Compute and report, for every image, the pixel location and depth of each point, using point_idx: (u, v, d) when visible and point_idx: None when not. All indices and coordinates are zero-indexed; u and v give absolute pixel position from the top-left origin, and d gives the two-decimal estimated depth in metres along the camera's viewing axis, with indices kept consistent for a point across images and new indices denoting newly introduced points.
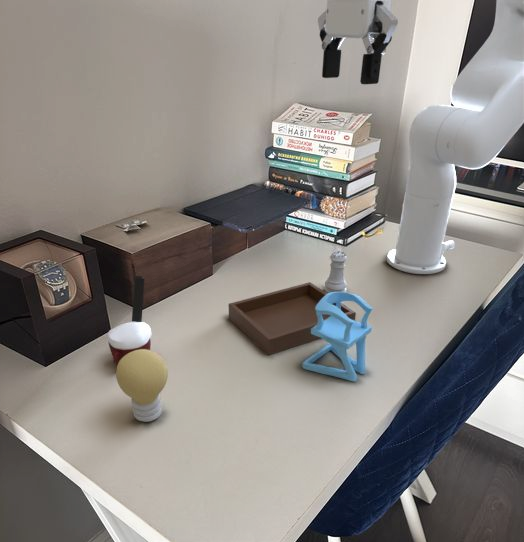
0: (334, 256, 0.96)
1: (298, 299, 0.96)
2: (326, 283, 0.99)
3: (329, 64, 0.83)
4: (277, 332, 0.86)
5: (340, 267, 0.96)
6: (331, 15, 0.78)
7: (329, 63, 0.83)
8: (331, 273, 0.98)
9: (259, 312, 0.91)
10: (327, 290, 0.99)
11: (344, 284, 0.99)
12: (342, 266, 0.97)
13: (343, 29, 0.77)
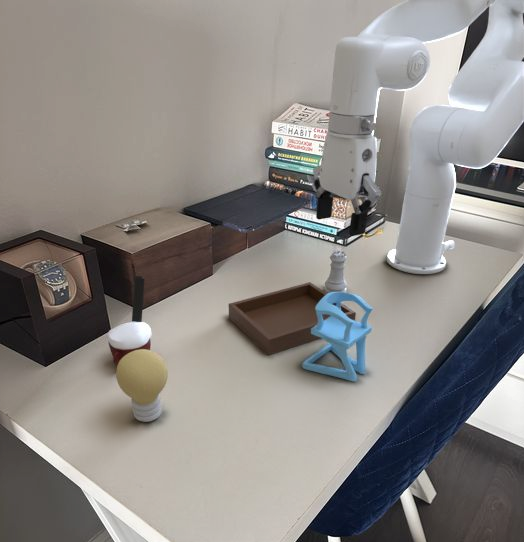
0: (334, 256, 0.96)
1: (298, 299, 0.96)
2: (326, 283, 0.99)
3: (322, 209, 0.95)
4: (277, 332, 0.86)
5: (340, 267, 0.96)
6: (324, 174, 0.89)
7: (322, 208, 0.95)
8: (331, 273, 0.98)
9: (259, 312, 0.91)
10: (327, 290, 0.99)
11: (344, 284, 0.99)
12: (342, 266, 0.97)
13: (334, 189, 0.88)
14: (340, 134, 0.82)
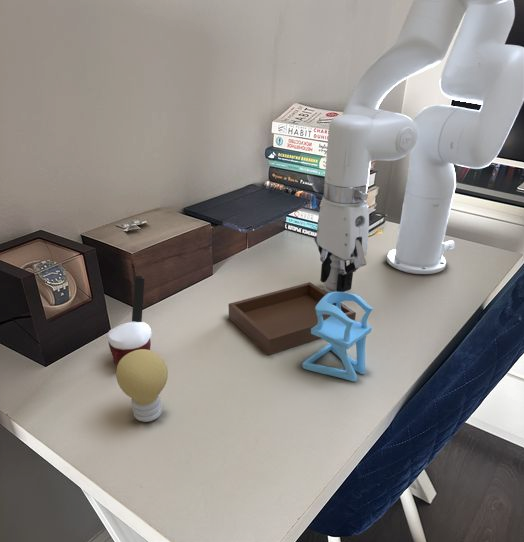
0: (334, 256, 0.96)
1: (298, 299, 0.96)
2: (326, 283, 0.99)
3: (326, 273, 1.00)
4: (277, 332, 0.86)
5: (340, 267, 0.96)
6: (320, 234, 0.96)
7: (326, 272, 1.00)
8: (331, 273, 0.98)
9: (259, 312, 0.91)
10: (327, 290, 0.99)
11: None
12: None
13: (330, 249, 0.94)
14: (335, 203, 0.88)
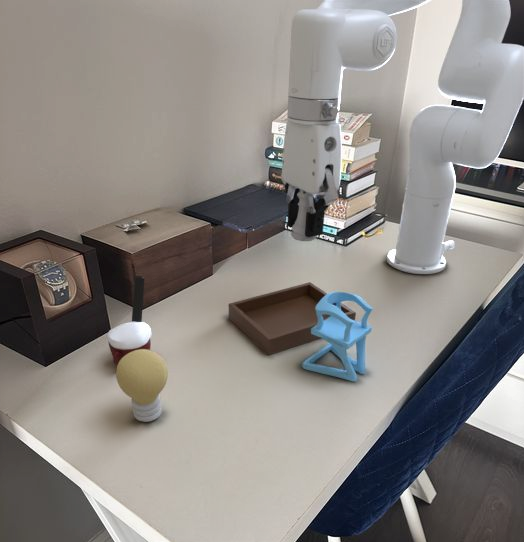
0: (302, 192, 0.80)
1: (298, 299, 0.96)
2: (293, 227, 0.84)
3: (294, 215, 0.85)
4: (277, 332, 0.86)
5: None
6: (286, 166, 0.80)
7: (294, 215, 0.85)
8: (299, 214, 0.83)
9: (259, 312, 0.91)
10: (294, 235, 0.84)
11: None
12: None
13: (297, 182, 0.79)
14: (300, 121, 0.73)
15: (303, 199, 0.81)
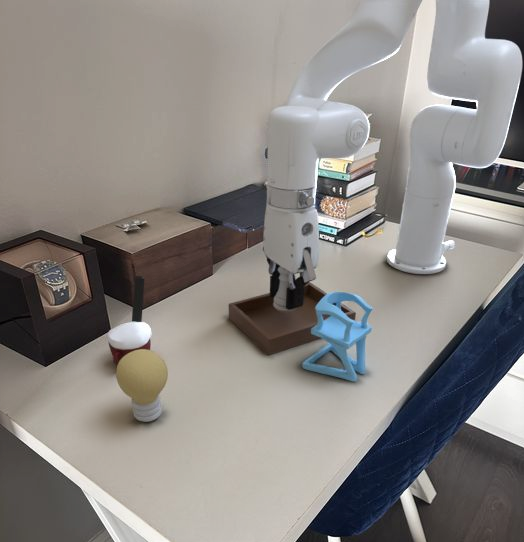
0: (282, 268, 0.84)
1: None
2: (275, 298, 0.87)
3: (276, 287, 0.88)
4: (277, 332, 0.86)
5: None
6: (267, 243, 0.84)
7: (276, 286, 0.88)
8: (280, 287, 0.86)
9: (259, 312, 0.91)
10: (276, 306, 0.87)
11: None
12: None
13: (277, 260, 0.83)
14: (278, 208, 0.76)
15: (283, 274, 0.84)
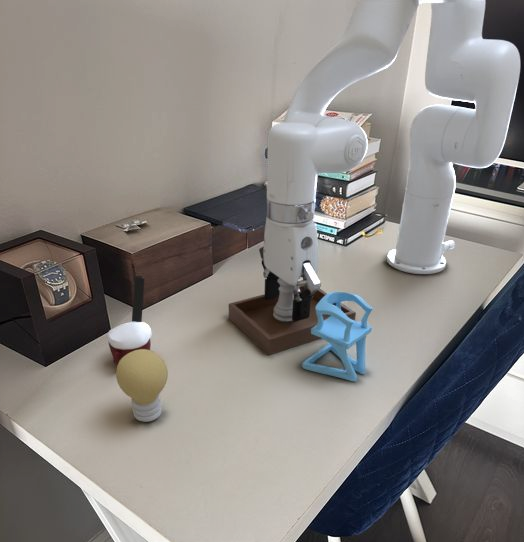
0: None
1: None
2: (275, 309, 0.89)
3: (270, 289, 0.90)
4: (277, 332, 0.86)
5: (289, 291, 0.86)
6: (267, 256, 0.85)
7: (270, 289, 0.90)
8: (280, 298, 0.87)
9: (259, 312, 0.91)
10: (276, 316, 0.89)
11: None
12: (291, 290, 0.86)
13: (277, 272, 0.84)
14: (277, 222, 0.77)
15: (283, 286, 0.85)
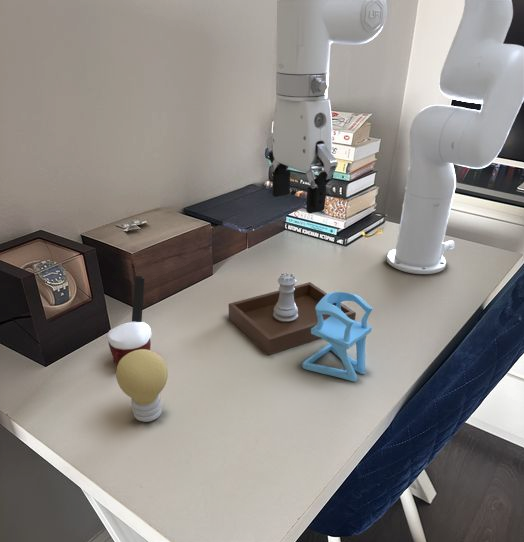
0: (282, 279, 0.85)
1: (298, 299, 0.96)
2: (275, 309, 0.89)
3: (279, 185, 0.85)
4: (277, 332, 0.86)
5: (289, 291, 0.86)
6: (276, 145, 0.80)
7: (278, 184, 0.85)
8: (280, 298, 0.87)
9: (259, 312, 0.91)
10: (276, 316, 0.89)
11: (295, 310, 0.88)
12: (291, 290, 0.86)
13: (288, 161, 0.79)
14: (289, 97, 0.72)
15: (283, 286, 0.85)
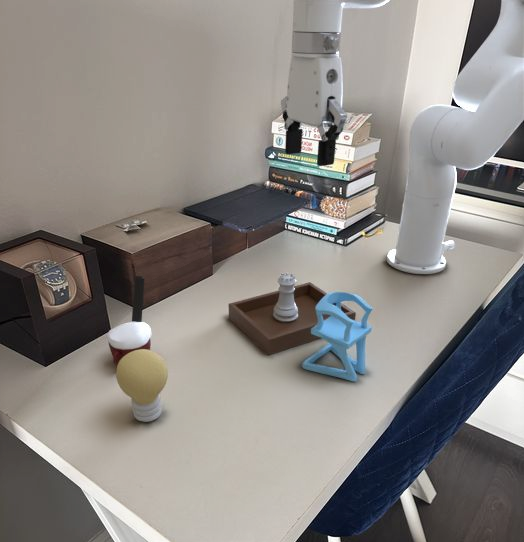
0: (282, 279, 0.85)
1: (298, 299, 0.96)
2: (275, 309, 0.89)
3: (291, 142, 0.91)
4: (277, 332, 0.86)
5: (289, 291, 0.86)
6: (290, 103, 0.86)
7: (291, 141, 0.91)
8: (280, 298, 0.87)
9: (259, 312, 0.91)
10: (276, 316, 0.89)
11: (295, 310, 0.88)
12: (291, 290, 0.86)
13: (301, 116, 0.85)
14: (303, 54, 0.78)
15: (283, 286, 0.85)
